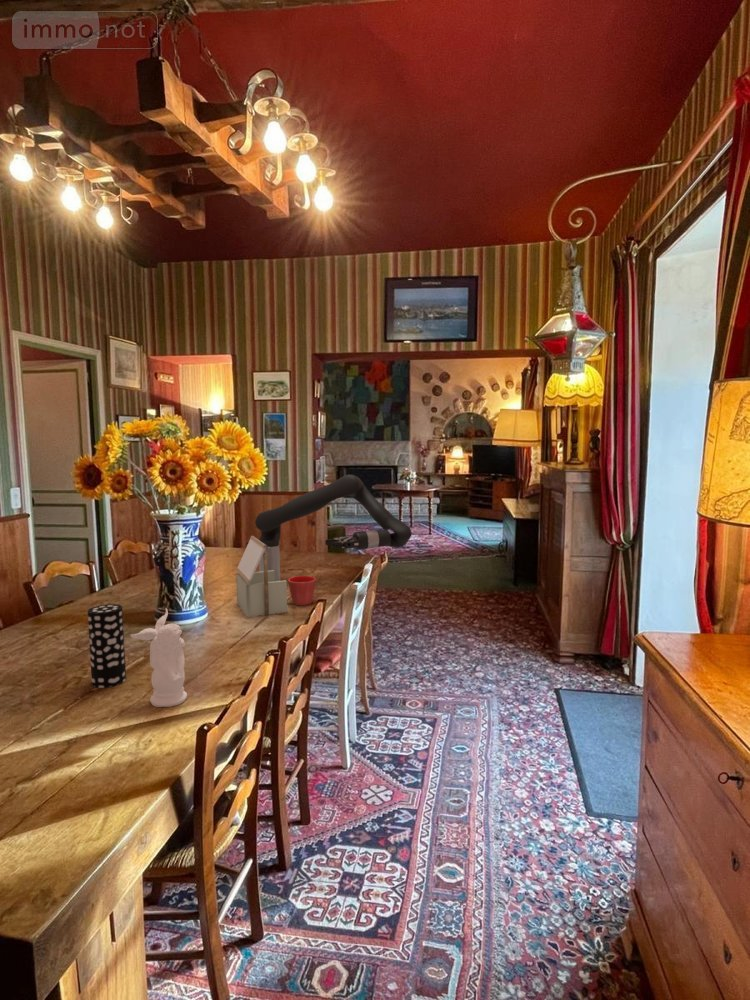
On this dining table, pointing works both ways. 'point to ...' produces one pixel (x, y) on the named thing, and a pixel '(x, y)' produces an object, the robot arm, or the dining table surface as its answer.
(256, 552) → the lid
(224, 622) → the dining table surface
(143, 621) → the dining table surface
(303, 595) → the flower pot
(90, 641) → the white-spotted black cylinder
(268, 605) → the prop stick
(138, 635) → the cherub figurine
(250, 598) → the cold frame
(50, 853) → the dining table surface
